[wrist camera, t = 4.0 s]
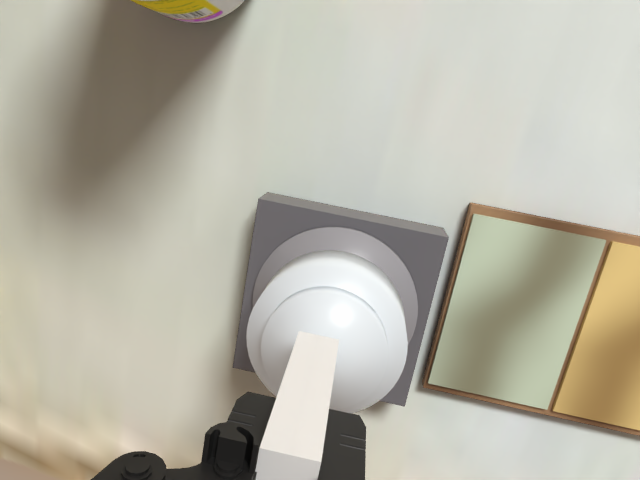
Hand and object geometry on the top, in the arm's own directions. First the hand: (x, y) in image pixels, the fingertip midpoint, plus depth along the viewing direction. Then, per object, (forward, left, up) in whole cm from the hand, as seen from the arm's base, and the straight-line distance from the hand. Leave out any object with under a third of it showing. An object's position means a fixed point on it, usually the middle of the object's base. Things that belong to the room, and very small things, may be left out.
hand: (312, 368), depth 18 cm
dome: (0, 0, -5) cm, 5 cm away
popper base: (0, 0, -8) cm, 8 cm away
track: (-15, -1, -8) cm, 18 cm away
